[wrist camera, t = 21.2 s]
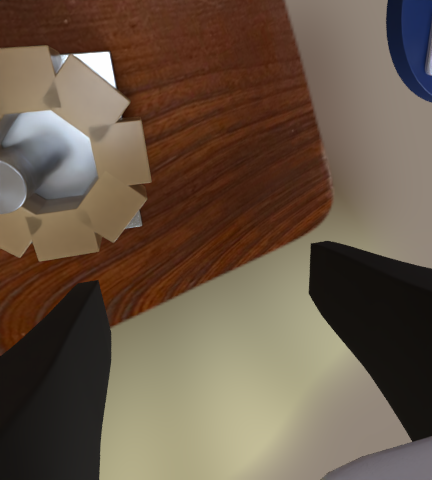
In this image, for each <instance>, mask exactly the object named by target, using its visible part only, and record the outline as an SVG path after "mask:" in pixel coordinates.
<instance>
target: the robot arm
mask: <svg viewBox="0 0 432 480" xmlns="http://www.w3.org/2000/svg"><path fill="white" fill-rule="evenodd" d="M425 72H426V74H427V75H432V23H431V29H430V36H429V43H428V50H427V57H426V63H425ZM309 295H310V296H311V298H312V300H313V301H314V303H315V305H316V307H317V308H318V310H319V312H320V313H321V315H322V316H323V318H324V319H325V320H326V321H327V323H328V324H329V325H330V326H331V328H332V329H333V330H334V331H335V332H336V334H337V335H338V336H339V337H340V338H341V340H342V341H343V342H344V343H345V344H346V346H347V347H348V348H349V349H350V350H351V352H352V353H353V354H354V355H355V357H356V358H357V359H358V360H359V361H360V363H361V364H362V365H363V366H364V367H365V369H366V370H367V372H368V373H369V374H370V376H371V377H372V379H373V380H374V382H375V383H376V384H377V386H378V388H379V389H380V391H381V392H382V394H383V395H384V397H385V398H386V400H387V401H388V403H389V404H390V406H391V407H392V409H393V411H394V412H395V414H396V415H397V417H398V419H399V420H400V422H401V423H402V425H403V427H404V428H405V430H406V431H407V433H408V435H409V437H410V438H411V440H412V442H411V443H407V444H404V445H400V446H397V447H393V448H390V449H387V450H383V451H380V452H376V453H373V454H370V455H366V456H362V457H360V458H358V459H356V460H354V461H352V462H350V463H347V464H346V465H343V466H341V467H339V468H337V469H335V470H333V471H331V472H328V473H327V474H326V475H325V476H324V477H323V478H322V479H321V480H432V269H431V268H426V267H421V266H417V265H413V264H409V263H405V262H401V261H398V260H394V259H390V258H387V257H384V256H380V255H377V254H374V253H370V252H367V251H364V250H361V249H357V248H354V247H351V246H347V245H343V244H340V243H336V242H331V241H324V242H318V243H312V244H311V255H310V278H309ZM110 365H111V330H110V326H109V322H108V318H107V314H106V310H105V306H104V302H103V298H102V294H101V290H100V286H99V282H98V280H96V281H90V282H84V283H78V284H77V285H76V286H75V287H74V288H73V289H72V290H71V291H70V292H69V293H68V294H67V295H66V296H65V297H64V298H63V299H62V300H61V301H60V302H59V303H58V304H57V305H56V306H55V307H54V308H53V310H52V311H51V312H50V313H49V314H48V315H47V316H46V317H45V318H44V319H43V320H42V321H40V322H39V323H38V324H37V325H36V326H35V327H34V328H33V329H32V330H31V331H30V332H29V333H28V334H26V335H25V336H24V337H23V338H22V339H21V340H20V341H19V342H18V343H16V344H15V345H14V346H13V347H12V348H10V349H9V350H8V351H7V352H5V353H4V354H3V355H2V356H0V480H99V467H100V442H101V431H102V422H103V415H104V408H105V402H106V395H107V387H108V380H109V373H110Z"/></svg>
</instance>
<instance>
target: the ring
mask: <svg viewBox="0 0 432 480" xmlns="http://www.w3.org/2000/svg"><path fill="white" fill-rule="evenodd" d="M130 101H131V100H130V99H128V98H127V97H126V96H125V95H124V94H122V93H121V92H120V91H119V90H117V89H116V88H115V87H114V86H113V85H111V84H110V83H109V82H108V81H106V80H105V79H104V78H103V77H101V76H100V75H99V74H98V73H97V72H95V71H94V70H93V69H92V68H90V67H89V66H88V65H87V64H86V63H84V62H83V61H82V60H81V59H79V58H78V57H76V56H75V55H73V54H72V53H70V54H69V56H68V57H67V59H66V60H65V62H64V63H63V65H62V62H61V58H60V54H59V52H58V51H57V50H55V49H53V48H51V47H50V46H48V45H39V46H25V47H10V48H0V150H2V146H1V141H2V140H3V138H4V136H5V135H6V133H7V132H8V130H9V129H10V127H11V126H12V124H13V122H14V121H15V119H16V118H17V116H18V115H19V113H27V112H38V111H48V110H51V111H52V112H54V113H55V114H57V115H58V116H59V117H61V118H62V119H64V120H65V121H66V122H68V123H69V124H71V125H72V126H73V127H75V128H76V129H77V130H79V131H80V132H82V133H83V134H84V135H86V136H87V137H89V139H90V144H91V148H92V152H93V157H94V161H95V165H96V170H97V174H98V175H97V176H96V178H95V179H94V180H93V182H92V183H91V185H90V186H89V187H88V189H87V190H86V192H85V193H84V194H83V195H82V196H75V197H68V198H61V199H53V200H45V199H43V198H42V197H40V196H38V195H37V194H35V193H34V194H33V195H32V196H31V197H30V198H29V199H28V200H27V201H26V202H25V203H24V204H23V205H22V206H21V207H20V208H19V209H17V210H16V211H14V212H11V213H7V214H0V248H1V249H3V250H5V251H7V252H9V253H11V254H13V255H15V256H17V257H19V258H20V257H21V256H22V255H23V254H24V252H25V251H26V249H27V248H28V247H29V245H30V244H31V242H33V245H34V248H35V251H36V254H37V257H38V260H39V261H45V260H51V259H57V258H63V257H69V256H75V255H81V254H87V253H93V252H99V249H100V244H101V239H102V236H103V237H104V238H106V239H108V240H109V241H111V242H113V243H114V242H115V241H116V240H117V238H118V237H119V236H120V234H121V233H122V232H123V230H124V229H125V228H126V226H127V225H128V224H129V223H130V221H131V220H132V219H133V217H134V216H135V215H136V213H137V212H138V211H139V209H140V208H141V207H142V205H143V204H144V203H145V202H146V200H147V194H146V187H145V186H144V185H142V184H143V183H150V182H151V175H150V169H149V163H148V157H147V151H146V144H145V138H144V132H143V126H142V120H141V118H140V117H129V118H120V117H121V115H122V114H123V112H124V111H125V110H126V108H127V107H128V105H129V104H130ZM119 118H120V119H119Z"/></svg>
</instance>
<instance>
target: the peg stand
mask: <svg viewBox="0 0 432 480" xmlns="http://www.w3.org/2000/svg"><path fill="white" fill-rule="evenodd" d="M69 54H70V53H65V54H60V58H61V62H62V65H63V63H64V62H65V60H66V59H67V57H68V56H69ZM72 54H73V55H75V56H76V57H78V58H79V59H81V60H82V61H83V62H84V63H86V64H87V65H88V66H89V67H90V68H92V69H93V70H94V71H95V72H97V73H98V74H99V75H100V76H101V77H103V78H104V79H105V80H106V81H108V82H109V83H110V84H111V85H113V86H114V87H115V88H116V89H117V90H118V86H117V81H116V75H115V70H114V64H113V59H112V54H111V52H110V51H109V50H107V51H93V52H79V53H72ZM120 118H123V114H122V115H121V117H120ZM120 118H119V119H120ZM1 146H2V150H0V214H7V213H11V212H14V211H16V210H17V209H19V208H20V207H21V206H22V205H23V204H24V203H25V202H26V201H27V200H28V199H29V198H30V197H31V196H32V195H33V194H34V193H35V194H37V195H38V196H40V197H42V198H43V199H45V200H53V199H61V198H68V197H75V196H82V195H83V194H84V193H85V192H86V190H87V189H88V187H89V186H90V185H91V183H92V182H93V180H94V179H95V178H96V176H97V175H98V174H97V170H96V165H95V161H94V157H93V152H92V148H91V144H90V139H89V137H87V136H86V135H84V134H83V133H82V132H80V131H79V130H77V129H76V128H75V127H73V126H72V125H71V124H69V123H68V122H66V121H65V120H64V119H62V118H61V117H59V116H58V115H57V114H55V113H54V112H52V111H51V110H48V111H38V112H27V113H19V115H18V116H17V118H16V119H15V121H14V122H13V124H12V126H11V127H10V129H9V130H8V132H7V133H6V135H5V136H4V138H3V140H2V141H1ZM139 226H142V217H141V211H140V209H139V211H138V212H137V213H136V215H135V216H134V217H133V219H132V220H131V221H130V223H129V224H128V225H127V226H126V228H125V229H127V228H133V227H139ZM31 243H33V242H31Z"/></svg>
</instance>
